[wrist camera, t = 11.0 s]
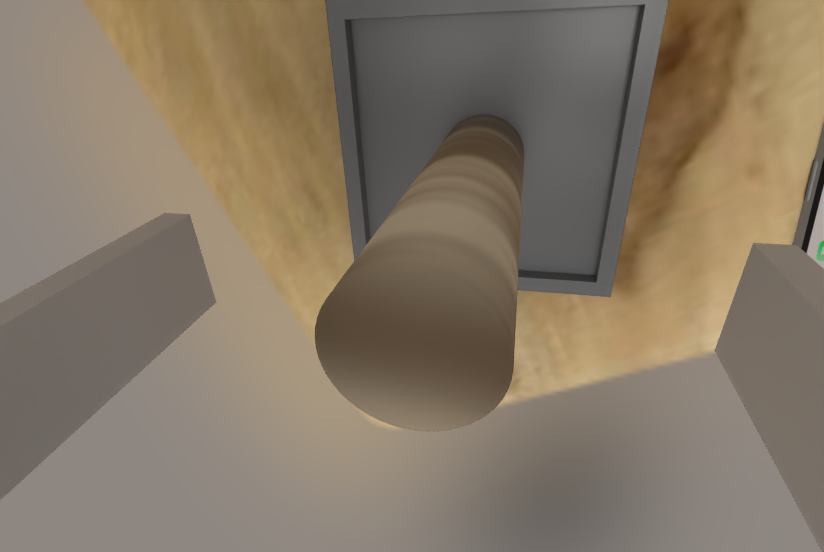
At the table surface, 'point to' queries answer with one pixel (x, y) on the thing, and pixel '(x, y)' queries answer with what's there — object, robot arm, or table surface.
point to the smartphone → (813, 211)
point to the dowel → (435, 290)
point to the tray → (503, 113)
